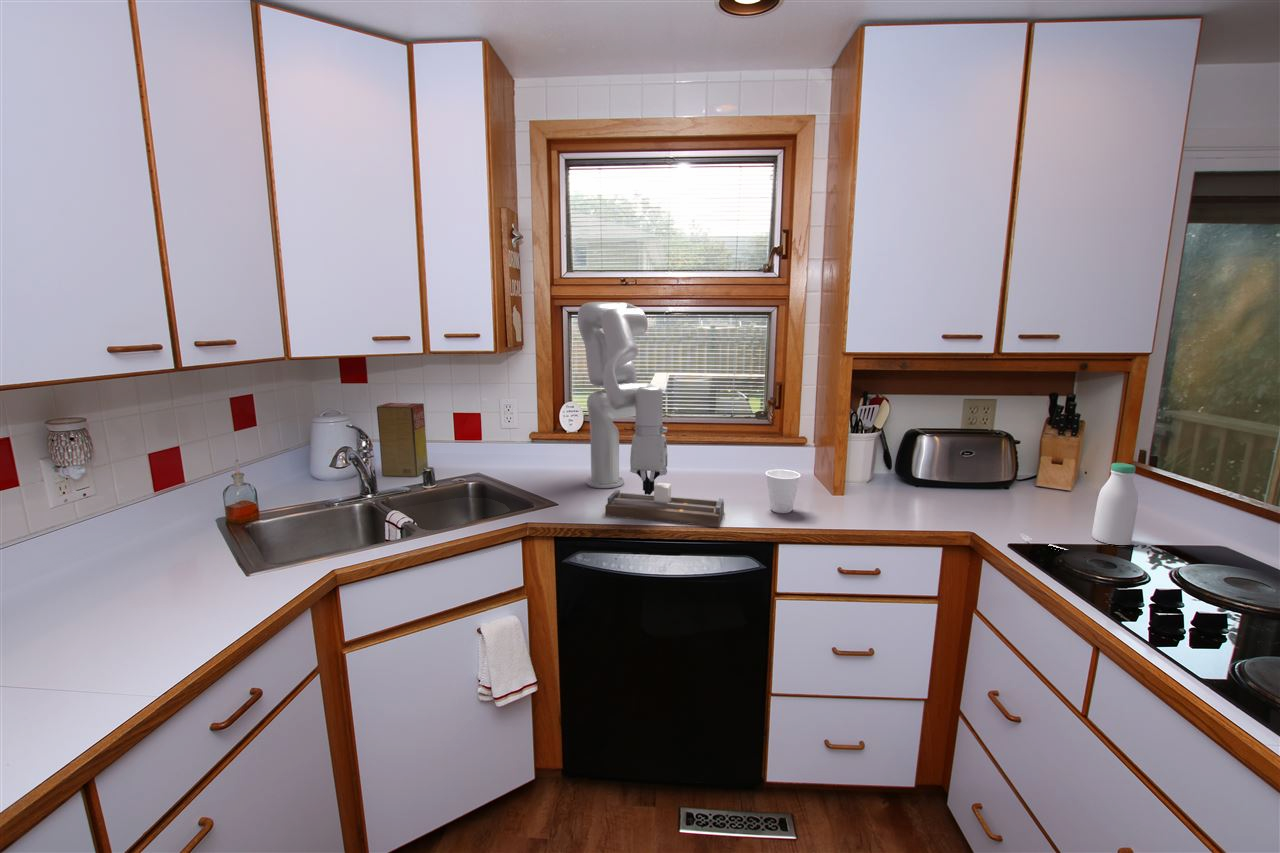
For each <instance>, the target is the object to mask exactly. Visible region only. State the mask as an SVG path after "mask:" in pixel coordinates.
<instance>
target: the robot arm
mask: <svg viewBox="0 0 1280 853" xmlns="http://www.w3.org/2000/svg"><path fill="white" fill-rule="evenodd" d="M577 312H578V313H577V326H578V330H579V334H580V336H581V338H582V340H583V344H584V347H585V356H586V366H587V374H588V380H589V382H590V384H591V385H593V386H595V387H604V389H603V390H596V391H593V392H591V393H590V394H589V395H588V397H587V400H586V408H587V412H588V418H589V419H588V420H589V430H590V433H589V434H590V477H588V478H587V479H586V485H587V486H589V487H590V488H591V487H592V488H596V489H614V488H618V487H620V486H622V485H624V484H625V479H624V478H623V477H621V476H620V432H619V428H618V427H617V426H616V425H615V423H614V422H613V420H615V419H623V418H632V417H634V416H635V433H634V434H633V436H632V440H631V448H630V455H629V456H630V460H629V461H630V462H629V464H630V465H629V466H630V470H629V472H630V473H633V474H635V475H637V476H638V477H639V478H640V479H641V481H642V491H644V494H646V495H652V493H654V487H655V480H656V479H657V478H659V477H661V476H666V475H668V468H667V467H668V465H669V464H668V463H669V462H668V461H669V460H668V445H667V438H666V435H665V434H664V433H667V432H668V427H666V426H664V424H663V405H664V404H663V397H664V396H663V390H662V388H661V387H659V386H655V385H653V384H651V383H649V382H638V378H637V376H638V375H637V370H636V366H635V364H634V362H633V360H635V358H636V357H637V356H638V354H639V348H638V344H637V342H636V338H635V337H636V336H637V337H639V336H643V335H644V334H646V332H647V330H648V326H649V325H648V324H649V323H648V318H647V315H646V314H645V311H643V309H642V308H640V307H638V306H635V305H633V304H631V303H630V302H629V303H628V302H623V301H622V302H621V301H620V302H619V301H615V302H614V301H612V302H611V301H592V302H590V301H589V302H585V303H583V304H582V305H581V306H580V307H579V309H578V311H577ZM601 329H602V330H601ZM648 471H649V474H648Z"/></svg>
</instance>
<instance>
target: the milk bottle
mask: <svg viewBox="0 0 1280 853" xmlns="http://www.w3.org/2000/svg"><path fill="white" fill-rule="evenodd" d="M1135 473H1136V465H1133V464H1129V463H1125V462H1113V463H1111V465H1110V475H1109V477H1108V479H1107V481H1106V483H1104V485H1103V486H1102V487H1101V489H1100V491H1099V495H1098V498H1097V502H1096V507H1095V511H1094V512H1095V513H1094V520H1093V525H1092V531H1091V538H1092V537H1093V538H1094V539H1095V541H1096V540H1098V541H1101V542H1105V543H1110V544H1116V545H1129V544H1130V545H1131V543H1132V540H1133V534H1134V529H1135V523H1136V517H1137V511H1138V504H1139V495H1138V492H1137V489H1136V487H1135V486H1136V485H1135V482H1134V476H1135V475H1136V474H1135ZM1093 538H1092V539H1093ZM1094 539H1093V540H1094ZM1098 541H1097V542H1098ZM1101 542H1100V543H1101ZM1130 545H1129V546H1130Z"/></svg>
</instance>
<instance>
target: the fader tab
mask: <svg viewBox="0 0 1280 853" xmlns="http://www.w3.org/2000/svg"><path fill="white" fill-rule="evenodd" d="M653 495H654V502H663V503H670V501H671V497H672V483H668V482H667V483H665V482H657V483H656V484H654V491H653Z"/></svg>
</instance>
